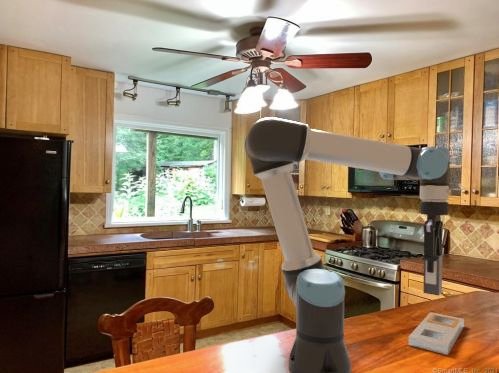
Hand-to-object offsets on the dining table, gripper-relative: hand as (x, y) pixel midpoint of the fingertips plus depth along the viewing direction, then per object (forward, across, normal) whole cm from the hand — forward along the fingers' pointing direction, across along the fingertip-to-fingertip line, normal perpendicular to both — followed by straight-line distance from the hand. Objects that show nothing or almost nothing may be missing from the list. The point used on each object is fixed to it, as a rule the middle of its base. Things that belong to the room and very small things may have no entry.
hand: (432, 281), depth 108 cm
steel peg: (+3, 0, 0) cm, 3 cm away
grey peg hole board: (+18, +7, 0) cm, 19 cm away
